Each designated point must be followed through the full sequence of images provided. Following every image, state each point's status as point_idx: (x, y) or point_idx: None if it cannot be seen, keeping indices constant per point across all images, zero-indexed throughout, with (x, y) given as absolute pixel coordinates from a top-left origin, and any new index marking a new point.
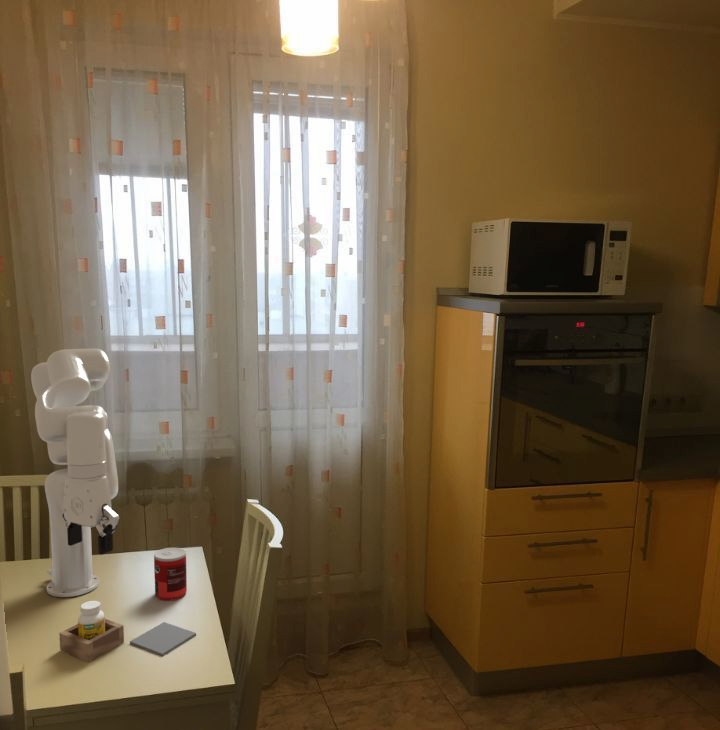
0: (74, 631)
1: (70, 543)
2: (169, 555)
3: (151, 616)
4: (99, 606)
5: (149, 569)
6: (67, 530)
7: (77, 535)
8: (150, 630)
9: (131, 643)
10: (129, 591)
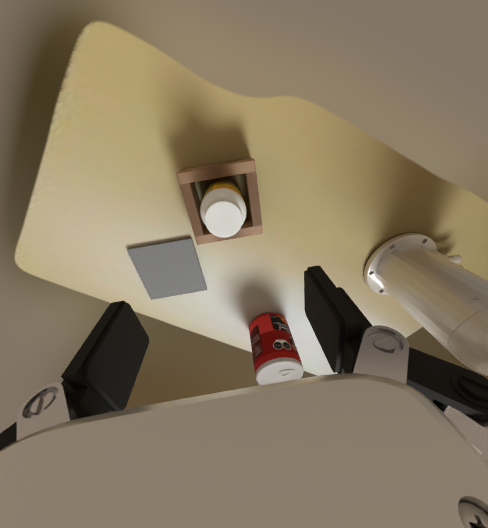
0: (247, 186)
1: (307, 273)
2: (277, 371)
3: (237, 288)
4: (208, 229)
5: None
6: (352, 311)
7: (316, 319)
8: (198, 269)
9: (188, 238)
10: None
